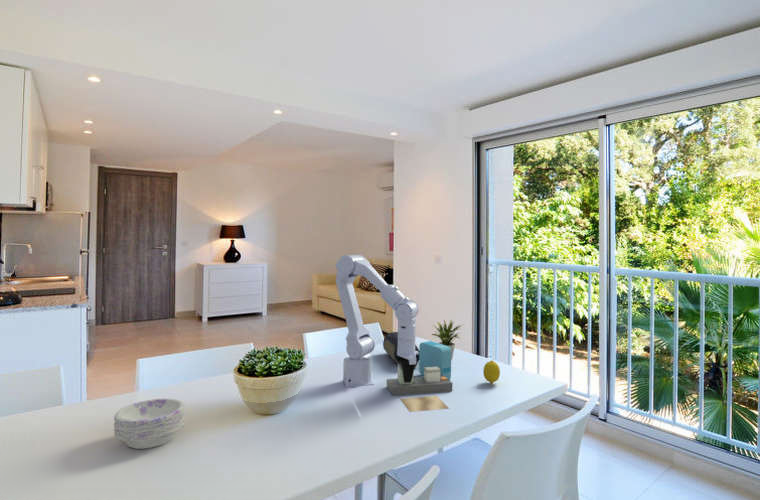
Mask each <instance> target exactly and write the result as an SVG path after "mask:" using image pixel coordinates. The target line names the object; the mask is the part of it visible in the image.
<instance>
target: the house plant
mask: <svg viewBox="0 0 760 500" xmlns="http://www.w3.org/2000/svg"><path fill="white" fill-rule="evenodd" d="M443 322H444V324H443V323H442V324H441V322H439V321H437V324H438V327H437V326H436V325H434V324H433V327H434V328H435V329H436V330H437V332H438V333H439V334H436V333H433V334H431V336H436V337H438V338H439V339H440V340H441V341H440V342H438V343H439V344H442V345H446V346H449V347H450V349H451V361H452V360H453V357H454V353H455V347H456V343H455V342H453V341H454V340H455V338H456V339H460V340H461V338H460V337H461V336H459V334H460V332H457V333H455V332H456V331H457V330H459V329H460V328H462V327H463V326H464V325H465V324H459V325H457V326H455V327H454V328H453V325H454V321H452V319H451V320H450V322H449V324H448V326H447V323H446V320H445V319H443ZM452 328H453V329H452Z"/></svg>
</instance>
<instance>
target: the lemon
mask: <svg viewBox="0 0 760 500" xmlns="http://www.w3.org/2000/svg"><path fill="white" fill-rule="evenodd" d="M482 371H483V378H484V379H485V380H486V381H487V382H489V383H490V384H494V383H495V382H497V381H498V380H499V378H500V375H501V370H500V366H499V365H498V363H497V362H495V361H494V360H492V359H491V360H490V361H486V363H484V366H483V370H482Z"/></svg>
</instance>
